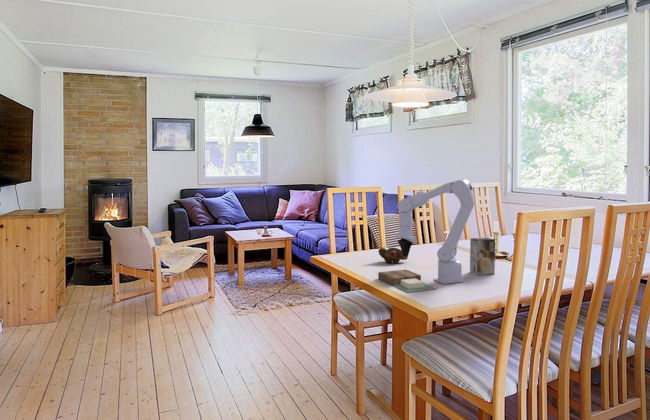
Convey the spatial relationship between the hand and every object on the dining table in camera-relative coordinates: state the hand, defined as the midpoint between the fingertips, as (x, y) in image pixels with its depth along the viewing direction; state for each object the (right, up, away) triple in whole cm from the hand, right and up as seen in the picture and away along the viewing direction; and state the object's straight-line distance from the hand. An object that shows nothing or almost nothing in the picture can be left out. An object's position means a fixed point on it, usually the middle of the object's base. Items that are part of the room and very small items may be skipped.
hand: (405, 256), depth 207 cm
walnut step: (-4, -10, -6) cm, 12 cm away
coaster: (0, -11, -16) cm, 19 cm away
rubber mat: (+1, -11, -17) cm, 20 cm away
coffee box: (+36, -9, +7) cm, 38 cm away
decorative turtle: (-1, -7, +31) cm, 31 cm away
